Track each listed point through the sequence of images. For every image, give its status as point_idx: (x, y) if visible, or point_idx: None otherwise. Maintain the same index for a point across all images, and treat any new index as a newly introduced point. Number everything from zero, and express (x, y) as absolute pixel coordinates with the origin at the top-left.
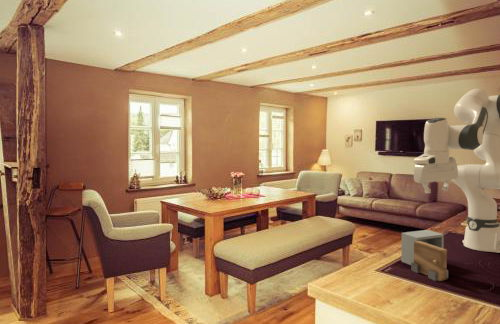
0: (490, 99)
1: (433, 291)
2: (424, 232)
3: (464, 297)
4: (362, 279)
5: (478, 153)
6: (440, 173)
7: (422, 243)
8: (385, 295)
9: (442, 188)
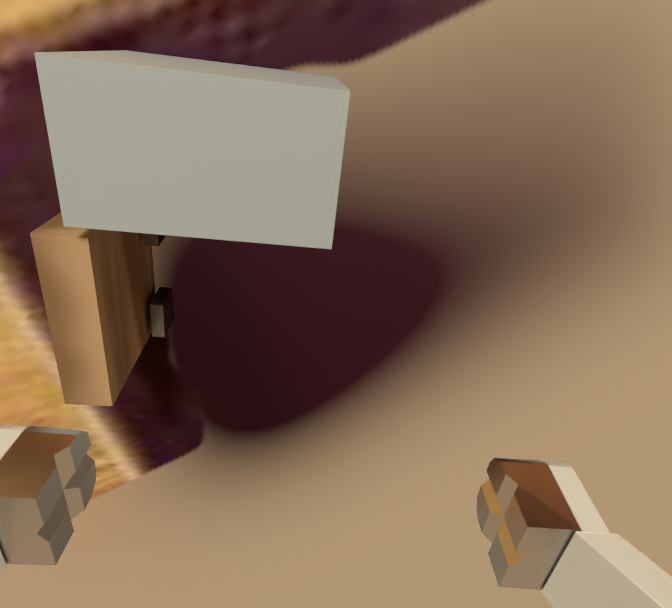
0: None
1: (25, 363)
2: (244, 145)
3: (97, 423)
4: None
5: None
6: None
7: (61, 283)
8: None
9: (514, 491)
